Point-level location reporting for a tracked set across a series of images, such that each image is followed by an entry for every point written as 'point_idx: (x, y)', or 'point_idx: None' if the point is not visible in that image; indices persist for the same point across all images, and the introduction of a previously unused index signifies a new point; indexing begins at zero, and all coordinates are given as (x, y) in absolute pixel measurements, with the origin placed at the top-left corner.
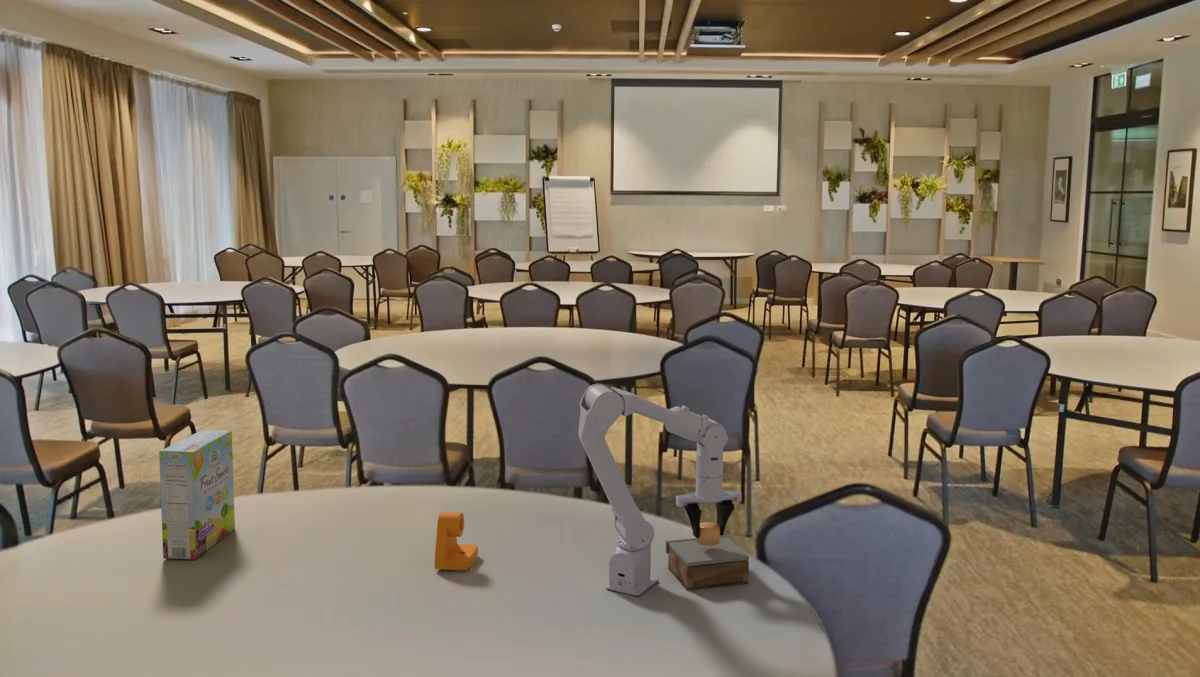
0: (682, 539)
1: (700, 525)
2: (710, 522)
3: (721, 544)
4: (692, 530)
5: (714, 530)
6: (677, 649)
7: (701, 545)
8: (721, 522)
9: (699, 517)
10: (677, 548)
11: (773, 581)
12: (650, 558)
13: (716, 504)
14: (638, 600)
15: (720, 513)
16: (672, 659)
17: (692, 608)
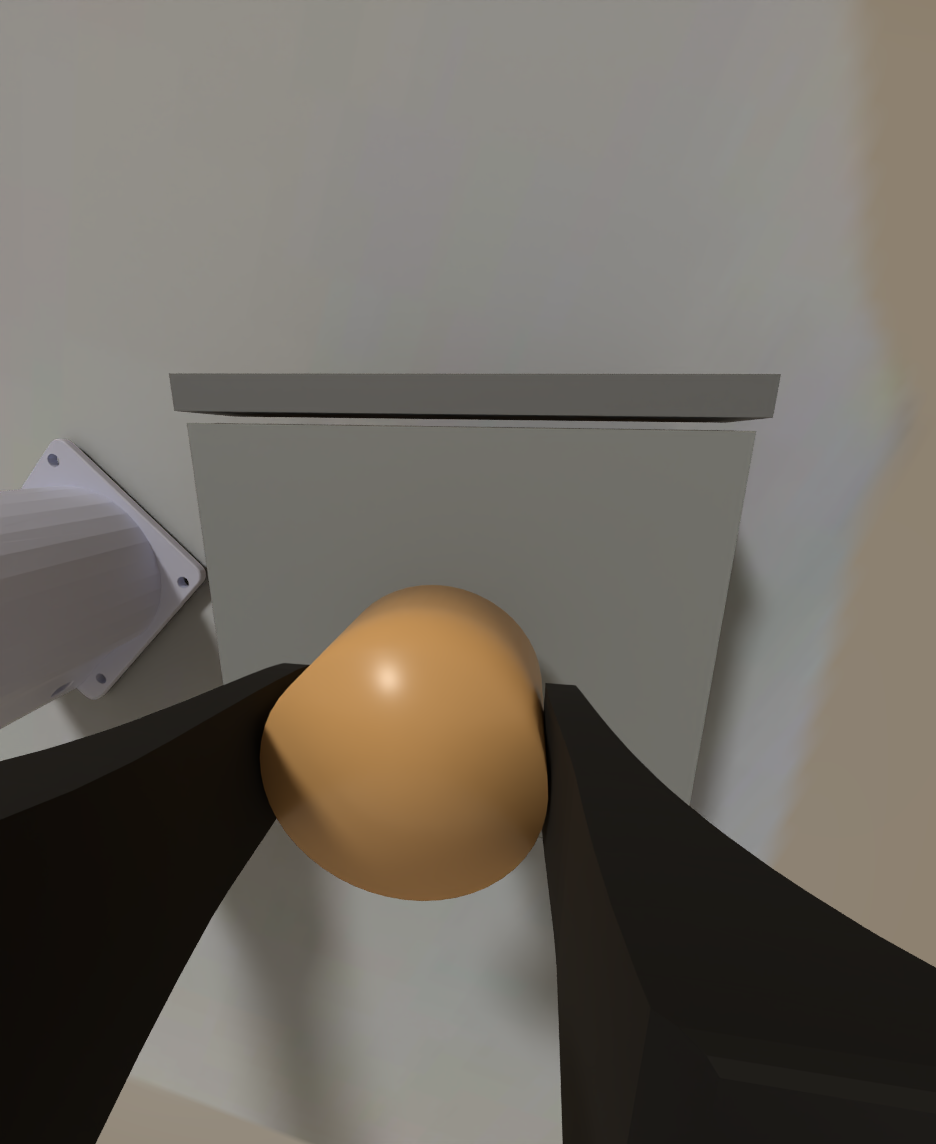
0: (317, 378)
1: (311, 731)
2: (479, 678)
3: (602, 591)
4: (250, 676)
5: (425, 892)
6: (181, 1030)
7: (430, 561)
8: (556, 897)
9: (124, 1049)
10: (230, 563)
11: (777, 750)
12: (34, 658)
13: (617, 974)
14: (104, 722)
15: (571, 1005)
16: (158, 1061)
17: (293, 847)
